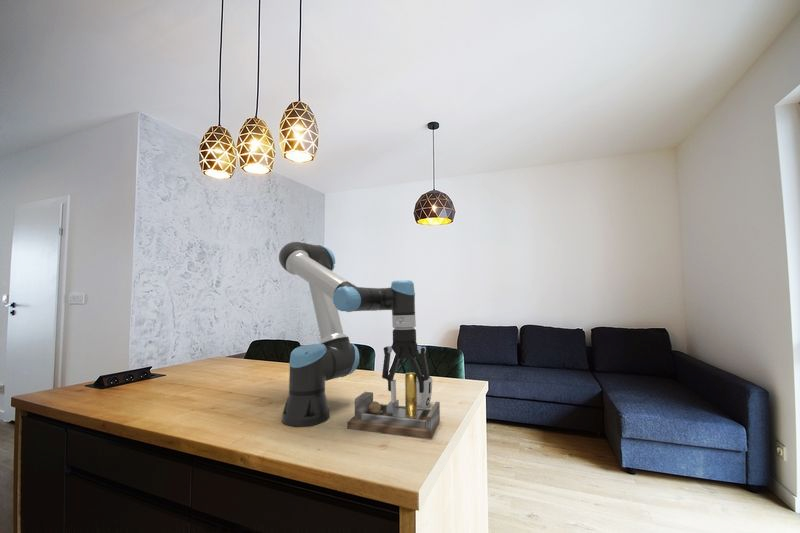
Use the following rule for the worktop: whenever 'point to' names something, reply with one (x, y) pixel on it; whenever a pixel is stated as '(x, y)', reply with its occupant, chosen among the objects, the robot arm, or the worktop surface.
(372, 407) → the nut
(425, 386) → the cup
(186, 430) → the worktop surface
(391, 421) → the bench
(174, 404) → the worktop surface
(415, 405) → the lever
